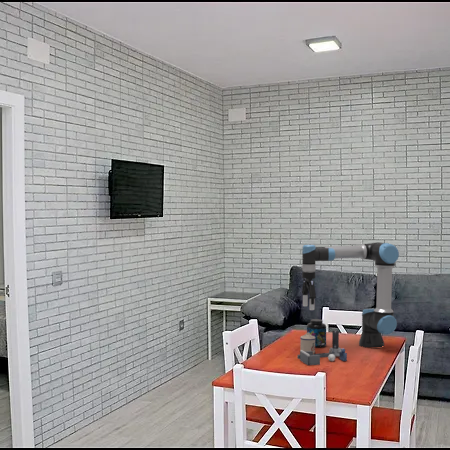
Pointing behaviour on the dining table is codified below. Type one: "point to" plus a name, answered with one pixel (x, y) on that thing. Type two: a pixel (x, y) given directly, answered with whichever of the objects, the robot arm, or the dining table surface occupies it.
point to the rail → (320, 355)
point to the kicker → (337, 346)
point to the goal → (309, 358)
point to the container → (317, 332)
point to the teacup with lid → (307, 342)
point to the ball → (331, 357)
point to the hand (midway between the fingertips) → (308, 308)
